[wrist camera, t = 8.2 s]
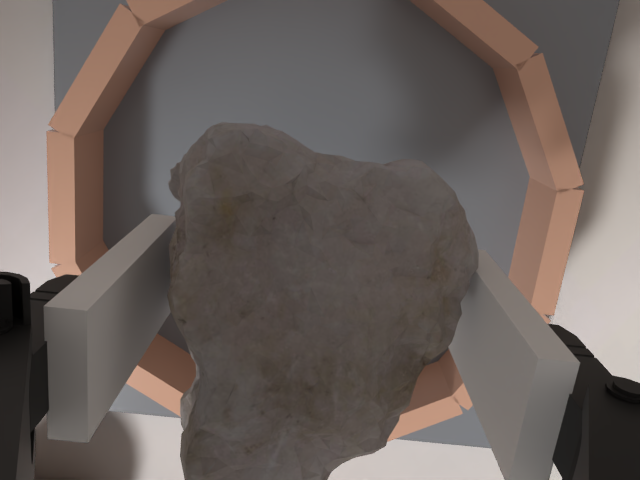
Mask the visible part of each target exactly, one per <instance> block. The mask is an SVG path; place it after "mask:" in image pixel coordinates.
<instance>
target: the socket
mask: <svg viewBox="0 0 640 480" xmlns="http://www.w3.org/2000/svg"><path fill="white" fill-rule="evenodd" d="M618 5H619V0H53V41H54V93H55V114H54V116H53V117H52V119H51V121H50V122H49V124H48V125H49V126H51V127H52V128H54V130H50V131H46V132H47V175H48V218H49V260H50V263H56V264H57V265H56V266H54V267H53V268H52V271H53V272H54V274H55V276H56V277H60V276H62V275H65V274H70V275H81V274H82V273H83V272H84V271H85V270H86V269H88V268H89V267H90V266H91V265H92V264H93V263H95V262H96V261H97V260H98V259H99V258H101V257H102V256H103V255H104V254H105V253H106V252H108V251H109V250H110V249H111V248H112V247H113V246H115V245H116V244H117V243H118V242H119V241H120V240H122V239H123V238H124V237H125V236H126V235H127V234H129V233H130V232H131V231H132V230H133V229H134V228H136V227H137V226H138V225H139V224H140V223H141V222H143V221H144V220H145V219H146V218H147V217H149V216H150V215H151V214H158V215H167V216H175V212H176V211H177V210H178V209H179V208H180V205H181V202H180V201H178V200H177V199H176V198H174V196H173V195H172V193H171V191H170V189H169V185H168V181H169V180H170V179H171V174H170V169H172V168H174V167H175V166H176V164H177V163H178V162H181V160H182V158H183V156H184V154H186V153H187V152H188V150H189V149H190V147H191V145H193V144H194V143H195V142H196V141H197V140H198V139H199V137H201V136H202V135H203V134H204V133H205V132H206V130H207V129H208V128H210V127H211V126H213V125H216V124H218V123H222V122H227V123H246V124H257V125H259V126H262V125H268V126H270V127H272V128H274V129H276V130H280V131H283V132H285V133H286V134H288V135H289V136H291V137H292V138H294V139H296V140H297V141H299V142H300V143H302V144H303V145H304V146H306V147H307V148H309V149H310V150H312V151H314V152H319V153H321V154H329V155H338V156H344V157H346V158H349V159H352V160H354V161H363V162H374V163H380V164H386V163H389V162H392V161H396V160H400V159H414V160H419V161H423V162H424V163H425V164H426V165H427V166H429V167H430V168H431V169H432V170H433V171H434V172H436V173H437V174H438V175H439V176H440V177H441V178H442V179H443V180H444V181H445V182H446V183H447V184H448V185H449V186H450V187H451V188H452V189H453V190H454V191H455V193H456V196H457V198H458V201H459V203H460V204H461V206H462V207H463V208H464V210H465V213H466V218H467V221H468V223H469V225H470V227H471V229H472V231H473V233H474V235H475V239H476V243H477V248H478V250H485V251H486V252H487V253H488V254H489V256H490V257H491V258H492V259H493V260H494V261H495V263H496V264H497V265H498V266H499V267H500V269H501V270H502V271H503V272H504V273H505V274H506V276H507V277H508V278H509V279H510V280H511V282H512V283H513V284H514V285H515V286H516V287H517V289H518V290H519V291H520V292H521V293H522V295H523V296H524V297H525V298H526V299H527V300H528V302H529V303H530V304H531V305H532V306H533V308H534V309H535V310H536V311H537V312H538V313H539V315H540V316H541V317H542V318H543V319H544V321H545V322H546V323H547V324H548V323H549V322H550V321H551V320H550V319H549V318H548V317H547V316H546V315H554V312H555V308H556V304H557V300H558V296H559V292H560V288H561V284H562V280H563V276H564V271H565V267H566V263H567V259H568V255H569V251H570V247H571V243H572V239H573V235H574V230H575V226H576V222H577V218H578V214H579V210H580V206H581V202H582V198H583V194H584V190H582V189H580V188H577V187H578V186H581V185H583V184H584V183H583V179H582V176H581V173H580V170H579V168H580V164H581V159H582V155H583V151H584V147H585V143H586V139H587V134H588V130H589V126H590V122H591V118H592V113H593V109H594V105H595V101H596V97H597V92H598V88H599V84H600V80H601V76H602V72H603V67H604V63H605V59H606V55H607V51H608V46H609V42H610V38H611V34H612V30H613V26H614V21H615V17H616V13H617V9H618ZM195 377H196V364H195V362H194V361H193V359H192V357H191V355H190V352H189V350H188V345H187V343H186V341H185V338H184V336H183V335H182V333H181V332H180V330H179V329H178V326H177V324H176V322H175V320H174V318H173V316H172V314H171V312H170V314H169V315H168V317H167V318H166V320H165V322H164V323H163V325H162V326H161V328H160V330H159V331H158V333H157V334H156V336H155V337H154V339H153V341H152V342H151V344H150V345H149V347H148V349H147V350H146V352H145V353H144V355H143V357H142V358H141V360H140V361H139V363H138V364H137V366H136V368H135V369H134V371H133V372H132V374H131V376H130V377H129V379H128V380H127V382H126V383H125V385H124V387H123V388H122V390H121V391H120V393H119V395H118V396H117V398H116V399H115V401H114V403H113V404H112V406H111V407H110V409H109V410H108V411H114V412H124V413H135V414H145V415H155V416H165V417H176V418H181V415H180V399H181V397H182V396H183V394H184V392H186V391H187V390H188V389H189V388H190V387H191V385H192V383H193V381H194V379H195ZM393 439H401V440H411V441H422V442H432V443H442V444H452V445H463V446H473V447H483V448H491V446H490V444H489V441H488V439H487V437H486V434H485V432H484V430H483V427H482V425H481V423H480V420H479V418H478V416H477V413H476V411H475V409H474V406H473V404H472V402H471V399H470V397H469V395H468V392H467V390H466V388H465V385H464V383H463V380H462V378H461V376H460V373H459V371H458V369H457V366H456V364H455V362H454V359H453V357H452V355H451V352H450V350H449V348H448V347H447V349H446V350H445V351H443V352H442V353H440V354H439V355H437V356H436V357H434V358H433V359H431V360H430V361H429V363H428V364H427V365H426V366H425V367H424V369H423V370H422V372H421V373H420V375H419V376H418V379H417V382H416V385H415V388H414V391H413V394H412V397H411V400H410V404H409V406H408V407H407V408H406V409H405V410H404V411H402V412H401V413H400V418H399V421H398V423H397V425H396V426H395V428H394V430H393V431H392V433H391V434H390V436H389V438H388V440H387V442H388V441H391V440H393Z"/></svg>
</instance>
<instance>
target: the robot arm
mask: <svg viewBox="0 0 640 480" xmlns="http://www.w3.org/2000/svg"><path fill="white" fill-rule="evenodd" d="M176 227H177V226H176V219H175V216H167V215H158V214H151V215H150V216H149V217H147V218H146V219H145V220H144V221H143V222H141V223H140V224H139V225H138V226H137V227H136V228H134V229H133V230H132V231H131V232H130V233H129V234H127V235H126V236H125V237H124V238H123V239H122V240H120V241H119V242H118V243H117V244H116V245H115V246H113V247H112V248H111V249H110V250H109V251H108V252H106V253H105V254H104V255H103V256H102V257H101V258H99V259H98V260H97V261H96V262H95V263H93V264H92V265H91V266H90V267H89V268H88V269H86V270H85V271H84V272H83V273H82V274H81V275H70V274H65V275H62V276H60V277H57V278H54V279H51V280H49V281H47V282H45V283H44V284H43V285H41V286H40V287H39V288H37V289H36V291H35V292H32V293H31V294H30V283H29V280H28V278H26V277H24V276H22V275H20V274H15V273H10V272H0V480H34V469H35V452H36V439H35V427H36V426H37V424H38V423H39V422H40V421H41V419H42V418H43V417H44V416H45V414H46V413H47V438H48V439H51V440H61V441H71V442H81V443H88V442H89V441H90V439H91V437H92V436H93V434H94V433H95V431H96V429H97V428H98V426H99V425H100V423H101V422H102V420H103V418H104V417H105V415H106V414H107V412H108V410H109V409H110V407H111V406H112V404H113V403H114V401H115V399H116V398H117V396H118V395H119V393H120V391H121V390H122V388H123V387H124V385H125V383H126V382H127V380H128V379H129V377H130V376H131V374H132V372H133V371H134V369H135V368H136V366H137V364H138V363H139V361H140V360H141V358H142V357H143V355H144V353H145V352H146V350H147V349H148V347H149V345H150V344H151V342H152V341H153V339H154V337H155V336H156V334H157V333H158V331H159V330H160V328H161V326H162V325H163V323H164V322H165V320H166V318H167V317H168V315H169V314H170V312H171V311H170V307H169V302H168V297H167V294H168V291H169V287H170V283H171V278H170V257H169V244H170V241H171V239H172V236H173V234H174V231H175V229H176ZM478 252H479V262H478V269H477V270H476V272H475V273H474V274H473V275H472V277H471V279H470V281H469V283H470V286H469V289H468V291H467V294H466V295H465V297H464V298H463V300H462V301H461V303H460V304H461V310H462V315H461V317H460V319H459V321H458V324H457V328H456V331H455V335H454V338H453V340H452V342H451V344H450V345H449V346H448V348H449V350H450V352H451V355H452V357H453V359H454V362H455V364H456V366H457V369H458V371H459V373H460V376H461V378H462V380H463V383H464V385H465V388H466V390H467V392H468V395H469V397H470V399H471V402H472V404H473V406H474V409H475V411H476V413H477V416H478V418H479V420H480V423H481V425H482V427H483V430H484V432H485V434H486V437H487V439H488V441H489V444H490V446H491V448H492V451H493V453H494V455H495V458H496V460H497V463H498V465H499V467H500V470H501V472H502V474H503V477H504V479H505V480H549V478H550V474H551V470H552V466H553V463H554V464H555V466H556V467H557V469H558V471H559V473H560V474H561V476H562V480H640V383H638V382H635V381H632V380H629V379H626V378H622V377H617V376H612V375H611V374H610V373H609V371H608V370H607V369H606V368H605V367H604V366H603V365H602V364H601V363H600V362H599V360H598V359H597V358H594V355H593V354H592V353H591V352H590V351H589V350H588V349H586V346H585V345H584V344H583V343H582V342H581V341H580V340H579V339H578V338H577V336H576V335H574V334H572V333H571V332H569V331H567V330H566V329H564V328H562V327H561V326H559V325H553V324H547V323H546V322H545V321H544V319H543V318H542V317H541V316H540V315H539V313H538V312H537V311H536V310H535V309H534V308H533V306H532V305H531V304H530V303H529V302H528V300H527V299H526V298H525V297H524V296H523V295H522V293H521V292H520V291H519V290H518V289H517V287H516V286H515V285H514V284H513V283H512V282H511V280H510V279H509V278H508V277H507V276H506V274H505V273H504V272H503V271H502V270H501V269H500V267H499V266H498V265H497V264H496V263H495V261H494V260H493V259H492V258H491V257H490V256H489V254H488V253H487V252H486V251H485V250H478Z"/></svg>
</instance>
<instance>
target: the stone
mask: <svg viewBox="0 0 640 480" xmlns="http://www.w3.org/2000/svg"><path fill="white" fill-rule="evenodd" d="M170 174H171V179H170V180H169V181H168V185H169V189H170V191H171V193H172V195H173V196H174V198H176V199H177V200H178V201H180V202H181V205H180V208H179V209H178V210H177V211H176V212H175V219H176V226H177V227H176V229H175V231H174V234H173V236H172V239H171V241H170V244H169V257H170V278H171V283H170V287H169V291H168V294H167V297H168V302H169V307H170V311H171V314H172V316H173V318H174V320H175V322H176V324H177V326H178V329H179V330H180V332H181V333H182V335H183V336H184V338H185V341H186V343H187V345H188V350H189V352H190V355H191V357H192V359H193V361H194V362H195V364H196V377H195V379H194V381H193V383H192V385H191V387H190V388H189V389H188V390H187V391H186V392H184V394H183V396H182V397H181V399H180V415H181V425H182V427H183V430H184V431H183V433H182V435H181V451H180V458H181V463H182V468H183V473H184V478H185V480H327V479H328V477H329V475H330V473H331V471H333V470H334V469H335V468H337V467H338V466H339V465H341V464H342V463H344V462H346V461H348V460H350V459H352V458H355V457H359V456H363V455H368V454H372V453H375V452H376V451H378V450H379V449H381V448H383V447H384V446H386V443H387V440H388V438H389V436H390V434H391V433H392V431H393V430H394V428H395V426H396V425H397V423H398V421H399V418H400V413H401V412H402V411H404V410H405V409H406V408H407V407H408V406H409V404H410V400H411V397H412V394H413V391H414V388H415V385H416V382H417V379H418V376H419V375H420V373H421V372H422V370H423V369H424V367H425V366H426V365H427V364H428V363H429V361H430V360H431V359H433V358H434V357H436V356H437V355H439V354H440V353H442V352H443V351H445V350H446V349H447V347H448V346H449V345H450V344H451V342H452V340H453V338H454V335H455V331H456V328H457V324H458V321H459V319H460V317H461V315H462V310H461V304H460V303H461V301H462V300H463V298H464V297H465V295H466V294H467V291H468V289H469V286H470V283H469V281H470V279H471V277H472V275H473V274H474V273H475V272H476V270H477V269H478V262H479V252H478V248H477V243H476V239H475V235H474V233H473V231H472V229H471V227H470V225H469V223H468V221H467V218H466V213H465V210H464V208H463V207H462V206H461V204H460V203H459V201H458V198H457V196H456V193H455V191H454V190H453V189H452V188H451V187H450V186H449V185H448V184H447V183H446V182H445V181H444V180H443V179H442V178H441V177H440V176H439V175H438V174H437V173H436V172H434V171H433V170H432V169H431V168H430V167H429V166H427V165H426V164H425V163H424V162H423V161H419V160H414V159H400V160H396V161H392V162H389V163H386V164H380V163H374V162H363V161H354V160H352V159H349V158H346V157H344V156H338V155H329V154H321V153H319V152H314V151H312V150H310V149H309V148H307V147H306V146H304V145H303V144H302V143H300V142H299V141H297V140H296V139H294V138H292V137H291V136H289V135H288V134H286V133H285V132H283V131H280V130H276V129H274V128H272V127H270V126H268V125H262V126H259V125H257V124H246V123H227V122H222V123H218V124H216V125H213V126H211V127H210V128H208V129H207V130H206V132H205V133H204V134H203V135H202V136H201V137H199V139H198V140H197V141H196V142H195V143H194V144H193V145H191V147H190V149H189V150H188V152H187V153H186V154H184V156H183V158H182V160H181V162H178V163H177V164H176V166H175V167H174V168H172V169H170Z"/></svg>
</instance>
